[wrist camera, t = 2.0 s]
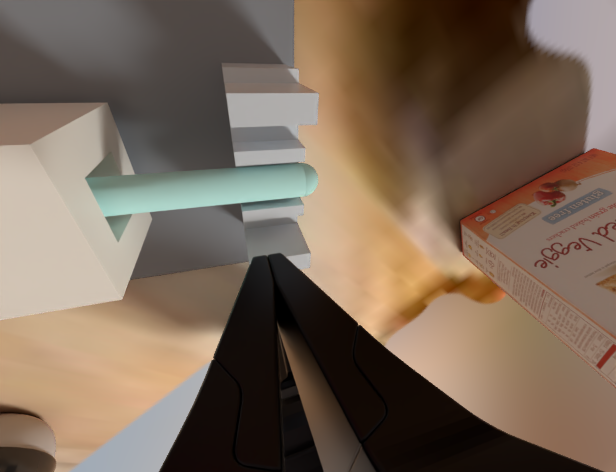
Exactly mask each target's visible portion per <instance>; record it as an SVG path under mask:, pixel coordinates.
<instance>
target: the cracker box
mask: <svg viewBox="0 0 616 472" xmlns="http://www.w3.org/2000/svg"><path fill="white" fill-rule="evenodd" d="M460 226H461V239H462V252H463V255H464V256H465V257H466V258H467V259H468V260H469V261H470V262H471V263H472V264H473V265H475V266H476V267H477V268H478V269H479V270H480V271H481V272H483V273H484V274H485V275H486V276H487V277H488V278H489V279H491V280H492V281H493V282H494V283H495V284H496V285H497V286H498V287H500V288H501V289H502V290H503V291H504V292H505V293H506V294H508V295H509V296H510V297H511V298H512V299H513V300H515V301H516V302H517V303H518V304H519V305H520V306H521V307H523V308H524V309H525V310H526V311H527V312H528V313H529V314H531V315H532V316H533V317H534V318H535V319H536V320H537V321H538V322H540V323H541V324H542V325H543V326H544V327H545V328H547V329H548V330H549V331H550V332H551V333H552V334H553V335H555V336H556V337H557V338H558V339H559V340H560V341H562V342H563V343H564V344H565V345H566V346H567V347H568V348H570V349H571V350H572V351H573V352H574V353H575V354H577V355H578V356H579V357H580V358H581V359H582V360H583V361H584V362H586V363H587V364H588V365H589V366H590V367H591V368H593V369H594V370H595V371H596V372H597V373H598V374H599V375H601V376H602V377H603V378H604V379H605V380H606V381H607V382H609V383H610V384H611V385H612V386H613V387H614V388H616V154H613V153H609V152H606V151H602V150H598V149H594V148H593V149H591V150H590V151H588V152H586V153H584V154H582V155H580V156H578V157H577V158H575V159H573V160H571V161H569V162H567V163H566V164H564V165H562V166H560V167H558V168H556V169H555V170H553V171H551V172H549V173H547V174H545V175H543V176H542V177H540V178H538V179H536V180H534V181H532V182H531V183H529V184H527V185H525V186H523V187H521V188H519V189H517V190H516V191H514V192H512V193H510V194H508V195H506V196H505V197H503V198H501V199H499V200H497V201H495V202H494V203H492V204H490V205H488V206H486V207H484V208H482V209H481V210H479V211H477V212H475V213H473V214H471V215H469V216H467V217H466V218H464V219H462V220H461V221H460Z"/></svg>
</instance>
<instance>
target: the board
mask: <svg viewBox="0 0 616 472" xmlns="http://www.w3.org/2000/svg"><path fill="white" fill-rule="evenodd" d="M318 100H319V93H318V92H316V91H314V90H312V89H310V88H308V87H305V86H303V85H301V84H299V69H298V68H294V0H0V104H12V103H108V105H109V108H110V111H111V113H112V116H113V118H114V121H115V124H116V126H117V129H118V131H119V134H120V137H121V139H122V142H123V144H124V147H125V150H126V152H127V155H128V157H129V160H130V163H131V165H132V168H133V170H134V173H135V174H149V173H164V172H178V171H192V170H207V169H221V168H236V167H250V166H265V165H279V164H293V163H298V162H305V147H304V146H303V145H302V144H301V142H300V141H299V140H298V125H317V119H318ZM150 215H151V217H152V221H151V224H150V226H149V229H148V232H147V234H146V237H145V240H144V243H143V245H142V248H141V251H140V253H139V256H138V259H137V261H136V264H135V267H134V269H133V272H132V275H131V277H130V280H132V279H139V278H145V277H152V276H158V275H165V274H171V273H177V272H184V271H190V270H197V269H203V268H210V267H216V266H223V265H229V264H236V263H242V262H248V261H249V265H250V263H251V260H252V258H253V257H255V256H261V255H266V256H267V257H268V255H269V254H274V253H282V254H283V255H284V256H285V257H286V258H288V259H289V260H290V261H291V262H292V263H293V264H294V265H295V266H296V267H297V268H298V269H306V268H310V256H311V253H310V250H309V248H308V246H307V244H306V241H305V239H304V237H303V235H302V232H301V230H300V228H299V226H298V223H297V216H300V215H304V204H303V202H302V201H301V199H300V197H294V198H284V199H274V200H265V201H255V202H245V203H235V204H225V205H215V206H205V207H195V208H186V209H176V210H166V211H156V212H150Z"/></svg>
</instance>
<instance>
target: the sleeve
mask: <svg viewBox="0 0 616 472" xmlns="http://www.w3.org/2000/svg"><path fill="white" fill-rule="evenodd" d="M120 175H135V173H134V170H133V168H132V165H131V163H130V160H129V157H128V155H127V152H126V150H125V147H124V144H123V142H122V139H121V137H120V134H119V131H118V129H117V126H116V124H115V121H114V118H113V116H112V113H111V111H110V108H109V105H108V103H12V104H0V320H5V319H10V318H16V317H22V316H28V315H34V314H40V313H46V312H52V311H58V310H63V309H69V308H75V307H81V306H87V305H93V304H99V303H105V302H111V301H116V300H122V299H123V296H124V294H125V291H126V288H127V285H128V283H129V280H130V277H131V275H132V272H133V269H134V267H135V264H136V261H137V259H138V256H139V253H140V251H141V248H142V245H143V243H144V240H145V237H146V234H147V232H148V229H149V226H150V224H151V221H152V217H151V215H150V212H146V213H136V214H126V215H117V216H107V217H104V215H103V213H102V211H101V209H100V207H99V205H98V203H97V201H96V199H95V197H94V195H93V193H92V191H91V189H90V187H89V185H88V183H87V181H86V179H85V178H92V177H106V176H120Z"/></svg>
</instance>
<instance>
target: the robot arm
mask: <svg viewBox="0 0 616 472" xmlns="http://www.w3.org/2000/svg"><path fill="white" fill-rule="evenodd" d="M213 358H214V359H213V360H212V361H211V364H210V366H209V369H208V371H207V374H206V376H205V379H204V381H203V383H202V386H201V388H200V390H199V393H198V395H197V397H196V399H195V402H194V404H193V406H192V408H191V410H190V412H189V414H188V416H187V418H186V420H185V422H184V424H183V426H182V428H181V430H180V432H179V434H178V436H177V438H176V440H175V442H174V444H173V446H172V448H171V450H170V452H169V453H168V455H167V457H166V459H165V461H164V463H163V465H162V467H161V469H160V471H159V472H603V471H601V470H598V469H596V468H593V467H591V466H588V465H586V464H583V463H581V462H578V461H576V460H573V459H571V458H568V457H565V456H563V455H560V454H558V453H555V452H553V451H550V450H548V449H545V448H542V447H540V446H537V445H535V444H532V443H530V442H527V441H525V440H522V439H520V438H517V437H515V436H512V435H510V434H508V433H506V432H504V431H502V430H500V429H497V428H496V427H494V426H492V425H490V424H488V423H487V422H485V421H483V420H482V419H480V418H478V417H477V416H475V415H473V414H472V413H471V412H469V411H468V410H467V409H465V408H464V407H463V406H461V405H460V404H459V403H457V402H456V401H454V400H453V399H452V398H450V397H449V396H448V395H446V394H445V393H444V392H443V391H441V390H440V389H438V388H437V387H436V386H434V385H433V384H432V383H431V382H429V381H428V380H427V379H425V378H424V377H423V376H421V375H420V374H419V373H417V372H416V371H415V370H413V369H412V368H411V367H409V366H408V365H407V364H405V363H404V362H403V361H402V360H400V359H399V358H398V357H397V356H395V355H394V354H393V353H391V352H390V351H389V350H388V349H387V348H385V347H384V346H383V345H382V344H381V343H380V342H379V341H377V340H376V339H375V338H374V337H373V336H372V335H370V334H369V333H368V332H367V331H366V330H365V329H364V328H363V327H362V326H361V325H358V323H357V322H356V321H355V320H354V319H353V318H352V317H351V316H350V315H349V314H347V313H346V312H345V311H344V310H343V309H342V308H341V307H340V306H339V305H338V304H337V303H336V302H334V301H333V300H332V299H331V298H330V297H329V296H328V295H327V294H326V293H325V292H324V291H322V290H321V289H320V288H319V287H318V286H317V285H316V284H315V283H314V282H313V281H312V280H310V279H309V278H308V277H307V276H306V275H305V274H304V273H303V272H302V271H301V270H300V269H298V268H297V267H296V266H295V265H294V264H293V263H292V262H291V261H290V260H289V259H288V258H286V257H285V256H284V255H283V254H282V253H274V254H269V255H268V257H267V256H266V255H261V256H255V257H253V258H252V260H251V263H250V265H249V268H248V271H247V273H246V276H245V278H244V281H243V283H242V286H241V288H240V291H239V293H238V296H237V298H236V301H235V303H234V306H233V308H232V311H231V313H230V316H229V319H228V321H227V324H226V326H225V329H224V331H223V334H222V336H221V339H220V341H219V344H218V346H217V349H216V351H215V354H214V357H213Z"/></svg>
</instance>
